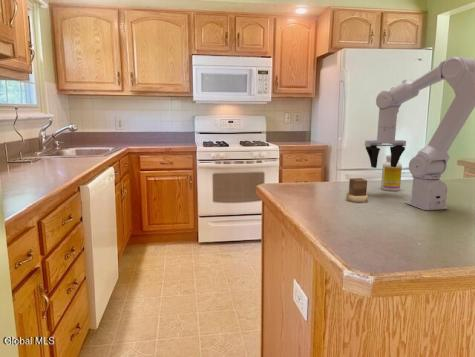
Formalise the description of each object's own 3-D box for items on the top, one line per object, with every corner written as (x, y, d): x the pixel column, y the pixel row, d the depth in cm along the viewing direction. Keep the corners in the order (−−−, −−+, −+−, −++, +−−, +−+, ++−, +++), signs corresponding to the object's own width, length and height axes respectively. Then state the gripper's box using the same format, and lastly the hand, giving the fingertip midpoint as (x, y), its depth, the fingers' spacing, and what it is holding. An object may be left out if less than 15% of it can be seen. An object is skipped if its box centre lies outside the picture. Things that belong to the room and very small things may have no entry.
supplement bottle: (402, 191, 130) (406, 156, 128) (384, 191, 130) (387, 156, 128) (395, 187, 137) (398, 154, 135) (378, 187, 137) (380, 154, 135)
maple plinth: (371, 202, 113) (371, 196, 113) (352, 203, 112) (353, 197, 112) (360, 197, 120) (360, 191, 119) (342, 198, 118) (343, 192, 118)
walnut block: (366, 195, 114) (367, 180, 113) (354, 196, 113) (355, 180, 112) (359, 193, 118) (360, 178, 117) (348, 193, 117) (349, 178, 116)
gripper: (398, 127, 125) (394, 165, 128) (361, 127, 122) (358, 165, 125) (411, 128, 119) (407, 167, 121) (372, 128, 116) (369, 168, 118)
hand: (383, 167), depth 122 cm, fingers open, 7 cm apart
